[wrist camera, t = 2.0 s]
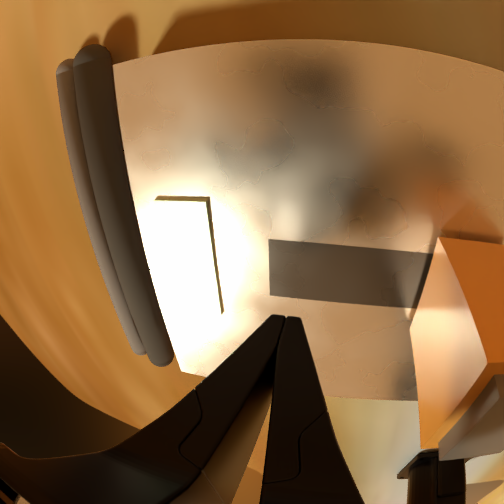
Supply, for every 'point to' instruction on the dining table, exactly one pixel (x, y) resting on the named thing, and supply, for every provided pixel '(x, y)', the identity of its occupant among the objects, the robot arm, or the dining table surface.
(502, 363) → the block
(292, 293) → the faceplate
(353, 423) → the dining table surface
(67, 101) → the cord
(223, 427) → the robot arm
